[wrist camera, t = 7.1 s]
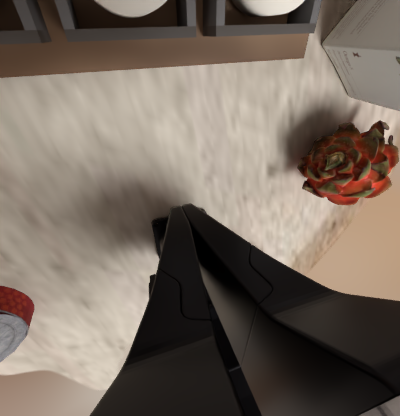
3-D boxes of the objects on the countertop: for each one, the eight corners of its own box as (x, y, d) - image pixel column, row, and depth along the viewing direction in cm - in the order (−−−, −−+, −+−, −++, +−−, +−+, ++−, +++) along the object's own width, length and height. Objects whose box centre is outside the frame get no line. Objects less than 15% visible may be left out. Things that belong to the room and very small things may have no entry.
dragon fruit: (273, 142, 26) (339, 136, 31) (284, 213, 27) (348, 196, 31) (347, 112, 18) (420, 110, 23) (360, 214, 19) (429, 192, 24)
